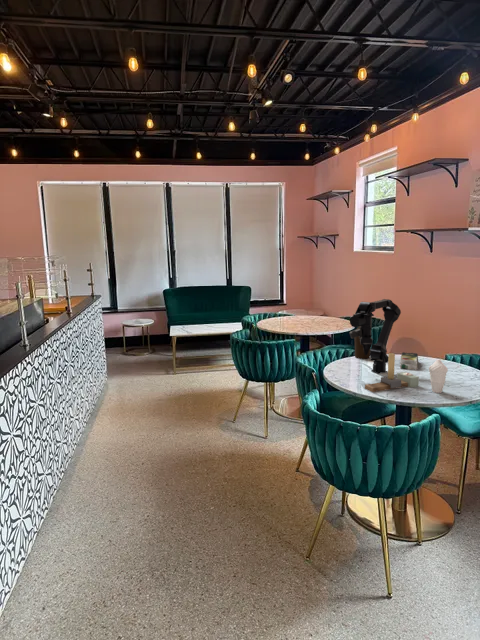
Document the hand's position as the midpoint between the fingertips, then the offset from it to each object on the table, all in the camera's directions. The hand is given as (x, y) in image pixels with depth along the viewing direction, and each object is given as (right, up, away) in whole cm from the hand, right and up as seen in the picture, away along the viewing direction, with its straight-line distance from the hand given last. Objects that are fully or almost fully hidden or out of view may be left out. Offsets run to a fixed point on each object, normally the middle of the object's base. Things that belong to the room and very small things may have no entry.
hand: (365, 353), depth 230 cm
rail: (+5, -16, -18) cm, 25 cm away
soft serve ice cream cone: (+27, -17, -26) cm, 41 cm away
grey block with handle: (+8, -16, -18) cm, 25 cm away
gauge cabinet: (+17, -15, -14) cm, 27 cm away
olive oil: (+11, -6, +44) cm, 46 cm away
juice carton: (+33, -10, +23) cm, 41 cm away
